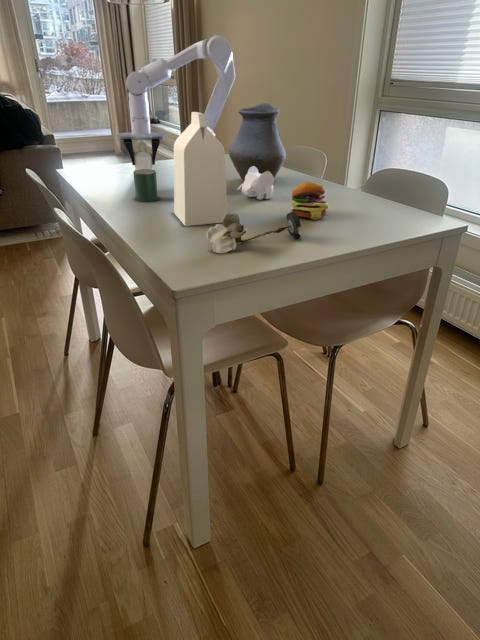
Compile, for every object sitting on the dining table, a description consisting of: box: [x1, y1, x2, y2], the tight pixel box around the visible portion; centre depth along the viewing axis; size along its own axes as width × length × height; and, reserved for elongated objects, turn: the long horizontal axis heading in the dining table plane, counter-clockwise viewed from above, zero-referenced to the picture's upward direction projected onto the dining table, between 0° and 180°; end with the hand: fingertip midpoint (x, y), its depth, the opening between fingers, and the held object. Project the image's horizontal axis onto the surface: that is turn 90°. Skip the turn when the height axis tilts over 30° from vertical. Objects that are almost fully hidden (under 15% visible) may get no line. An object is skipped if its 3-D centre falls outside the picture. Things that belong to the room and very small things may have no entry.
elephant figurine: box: [236, 166, 276, 201], centre depth 140 cm, size 10×12×9 cm
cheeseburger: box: [290, 181, 329, 221], centre depth 126 cm, size 10×11×10 cm
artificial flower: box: [206, 210, 302, 254], centre depth 104 cm, size 9×22×10 cm, turn 109°
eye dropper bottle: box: [133, 140, 154, 171], centre depth 142 cm, size 4×6×12 cm
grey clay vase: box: [228, 103, 287, 182], centre depth 158 cm, size 21×22×25 cm
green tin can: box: [132, 169, 158, 203], centre depth 137 cm, size 7×7×8 cm
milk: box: [173, 111, 228, 227], centre depth 117 cm, size 12×12×26 cm
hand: (143, 164), depth 143 cm, fingers closed on eye dropper bottle, 5 cm apart
